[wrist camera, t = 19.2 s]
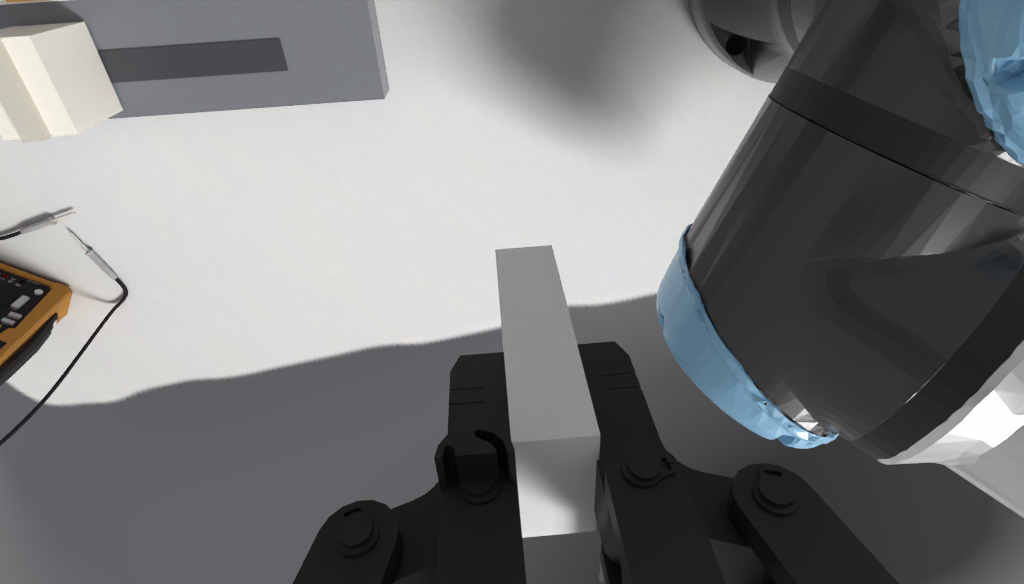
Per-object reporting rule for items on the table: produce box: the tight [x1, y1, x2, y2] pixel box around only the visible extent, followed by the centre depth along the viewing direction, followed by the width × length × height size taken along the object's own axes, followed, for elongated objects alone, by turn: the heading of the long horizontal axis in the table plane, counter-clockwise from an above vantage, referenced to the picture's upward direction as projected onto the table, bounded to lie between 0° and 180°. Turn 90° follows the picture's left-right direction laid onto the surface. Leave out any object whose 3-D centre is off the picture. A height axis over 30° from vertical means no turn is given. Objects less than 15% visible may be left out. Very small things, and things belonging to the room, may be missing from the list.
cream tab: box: [0, 22, 123, 142], centre depth 31 cm, size 4×5×5 cm
